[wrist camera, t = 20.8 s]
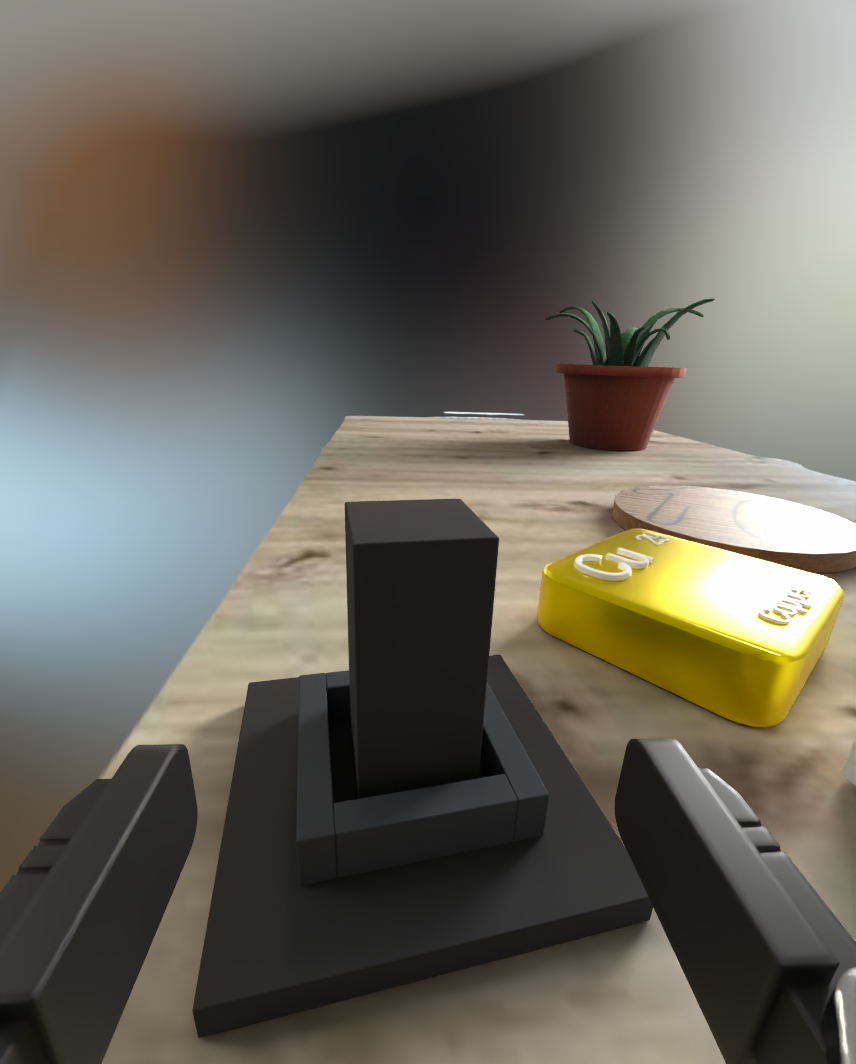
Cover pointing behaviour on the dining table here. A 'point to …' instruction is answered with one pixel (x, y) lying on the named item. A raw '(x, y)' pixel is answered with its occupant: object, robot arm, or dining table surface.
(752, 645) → the element tile
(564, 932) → the base pad
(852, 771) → the milk carton
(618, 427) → the potted plant
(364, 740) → the block
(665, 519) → the trivet
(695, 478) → the dining table surface
